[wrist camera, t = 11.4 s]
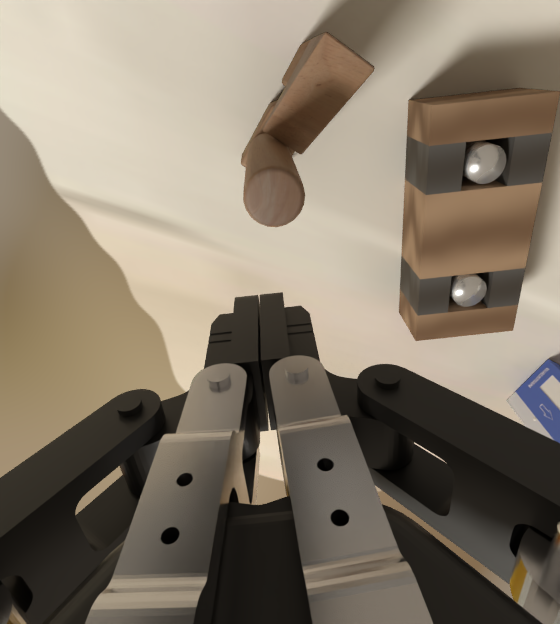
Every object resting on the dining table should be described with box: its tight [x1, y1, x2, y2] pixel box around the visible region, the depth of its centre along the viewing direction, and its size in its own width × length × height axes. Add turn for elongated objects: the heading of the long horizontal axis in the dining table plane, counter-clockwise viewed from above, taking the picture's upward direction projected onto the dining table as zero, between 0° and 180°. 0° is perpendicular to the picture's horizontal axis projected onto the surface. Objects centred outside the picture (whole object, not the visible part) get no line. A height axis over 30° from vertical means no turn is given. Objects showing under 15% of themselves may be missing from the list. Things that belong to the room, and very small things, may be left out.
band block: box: [399, 88, 560, 341], centre depth 42 cm, size 22×10×6 cm, turn 5°
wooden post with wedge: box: [241, 32, 375, 227], centre depth 32 cm, size 4×11×18 cm, turn 149°
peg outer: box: [450, 273, 487, 307], centre depth 45 cm, size 3×3×6 cm
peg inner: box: [462, 140, 506, 184], centre depth 39 cm, size 3×3×6 cm
